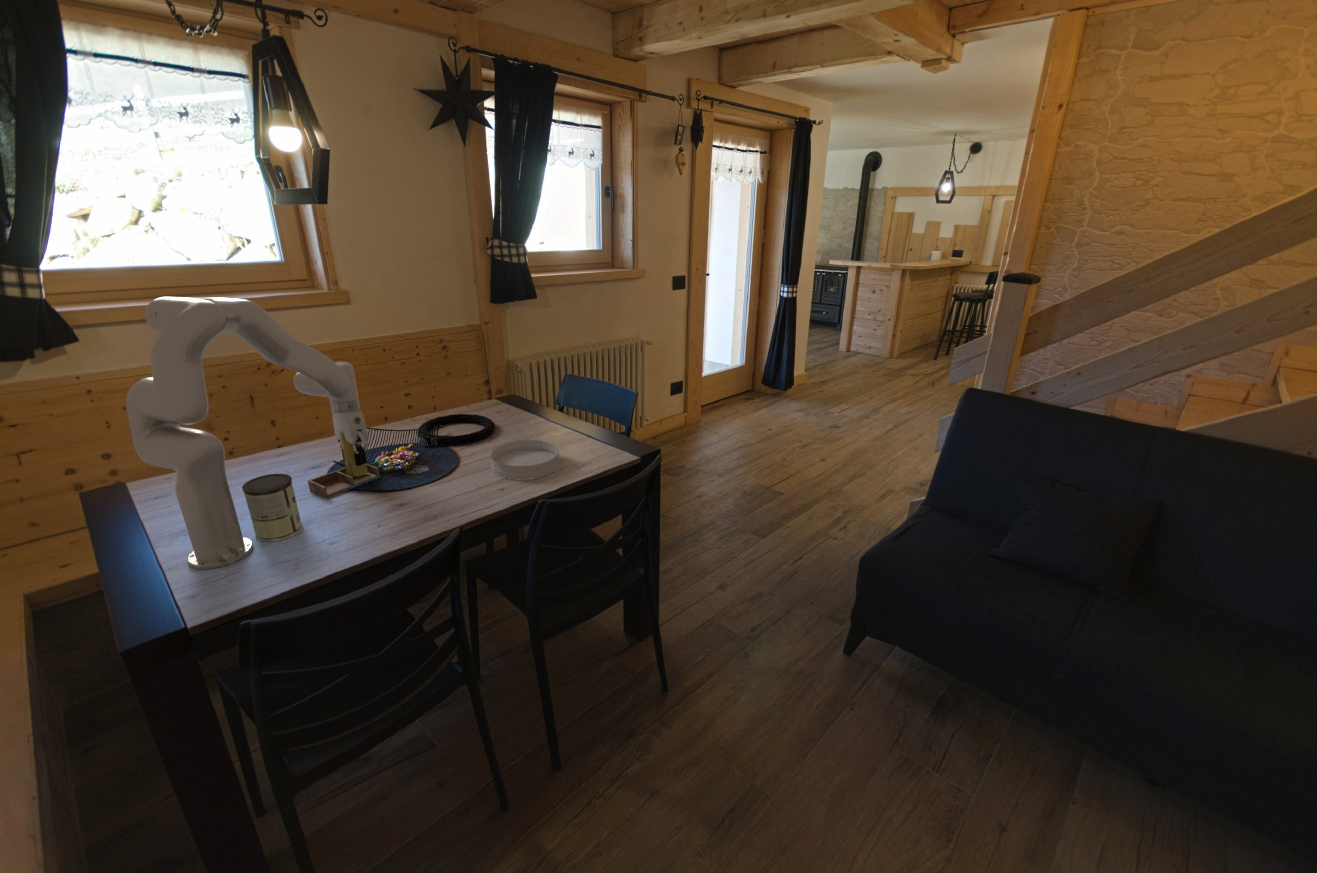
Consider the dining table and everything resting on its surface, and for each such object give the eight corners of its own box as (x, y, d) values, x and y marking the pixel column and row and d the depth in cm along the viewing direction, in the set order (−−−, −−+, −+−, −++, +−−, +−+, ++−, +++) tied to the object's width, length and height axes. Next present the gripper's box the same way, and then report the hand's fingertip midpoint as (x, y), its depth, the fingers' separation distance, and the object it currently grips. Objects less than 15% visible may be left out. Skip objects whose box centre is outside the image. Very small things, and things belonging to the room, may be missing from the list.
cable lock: (510, 420, 220) (450, 445, 196) (510, 429, 222) (451, 455, 197) (457, 408, 232) (393, 430, 207) (457, 417, 234) (395, 440, 209)
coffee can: (251, 530, 148) (238, 481, 143) (296, 517, 155) (285, 469, 150) (260, 547, 141) (246, 495, 136) (307, 532, 148) (296, 483, 143)
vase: (344, 478, 172) (335, 433, 167) (348, 469, 178) (340, 426, 173) (366, 476, 174) (358, 431, 169) (370, 468, 179) (362, 424, 174)
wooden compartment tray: (379, 478, 178) (378, 467, 177) (326, 498, 165) (323, 487, 164) (363, 471, 183) (361, 461, 181) (309, 491, 169) (307, 480, 168)
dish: (567, 455, 199) (566, 441, 198) (550, 483, 179) (549, 468, 177) (504, 451, 201) (503, 438, 199) (480, 478, 180) (479, 464, 179)
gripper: (374, 407, 167) (384, 464, 173) (340, 396, 175) (350, 451, 182) (350, 413, 161) (360, 473, 167) (315, 402, 169) (326, 459, 176)
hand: (355, 461), depth 174 cm, fingers closed on vase, 5 cm apart
